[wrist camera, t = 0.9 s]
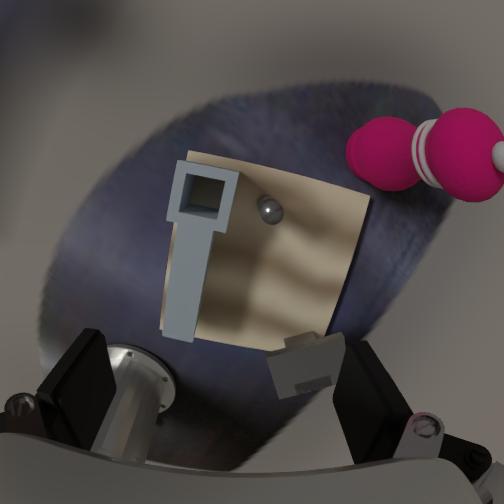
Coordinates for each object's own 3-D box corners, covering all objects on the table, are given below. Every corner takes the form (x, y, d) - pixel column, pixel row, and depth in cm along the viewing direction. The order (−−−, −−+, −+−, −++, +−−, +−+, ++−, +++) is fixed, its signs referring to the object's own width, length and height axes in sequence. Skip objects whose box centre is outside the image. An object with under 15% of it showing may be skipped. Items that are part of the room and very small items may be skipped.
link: (208, 317, 32) (202, 344, 27) (164, 307, 32) (152, 333, 27) (239, 171, 28) (239, 172, 23) (189, 160, 28) (177, 160, 22)
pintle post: (271, 212, 31) (280, 227, 23) (254, 208, 30) (258, 222, 23) (275, 195, 30) (286, 205, 23) (258, 191, 30) (263, 199, 23)
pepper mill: (409, 158, 29) (553, 173, 10) (369, 200, 31) (506, 253, 11) (371, 109, 28) (508, 68, 8) (327, 150, 29) (452, 139, 10)
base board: (313, 351, 36) (315, 356, 35) (161, 323, 34) (159, 329, 33) (365, 194, 30) (370, 196, 29) (190, 150, 28) (188, 150, 27)
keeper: (259, 308, 34) (266, 357, 25) (319, 292, 33) (344, 336, 24) (270, 346, 35) (279, 399, 26) (326, 331, 35) (349, 380, 26)
